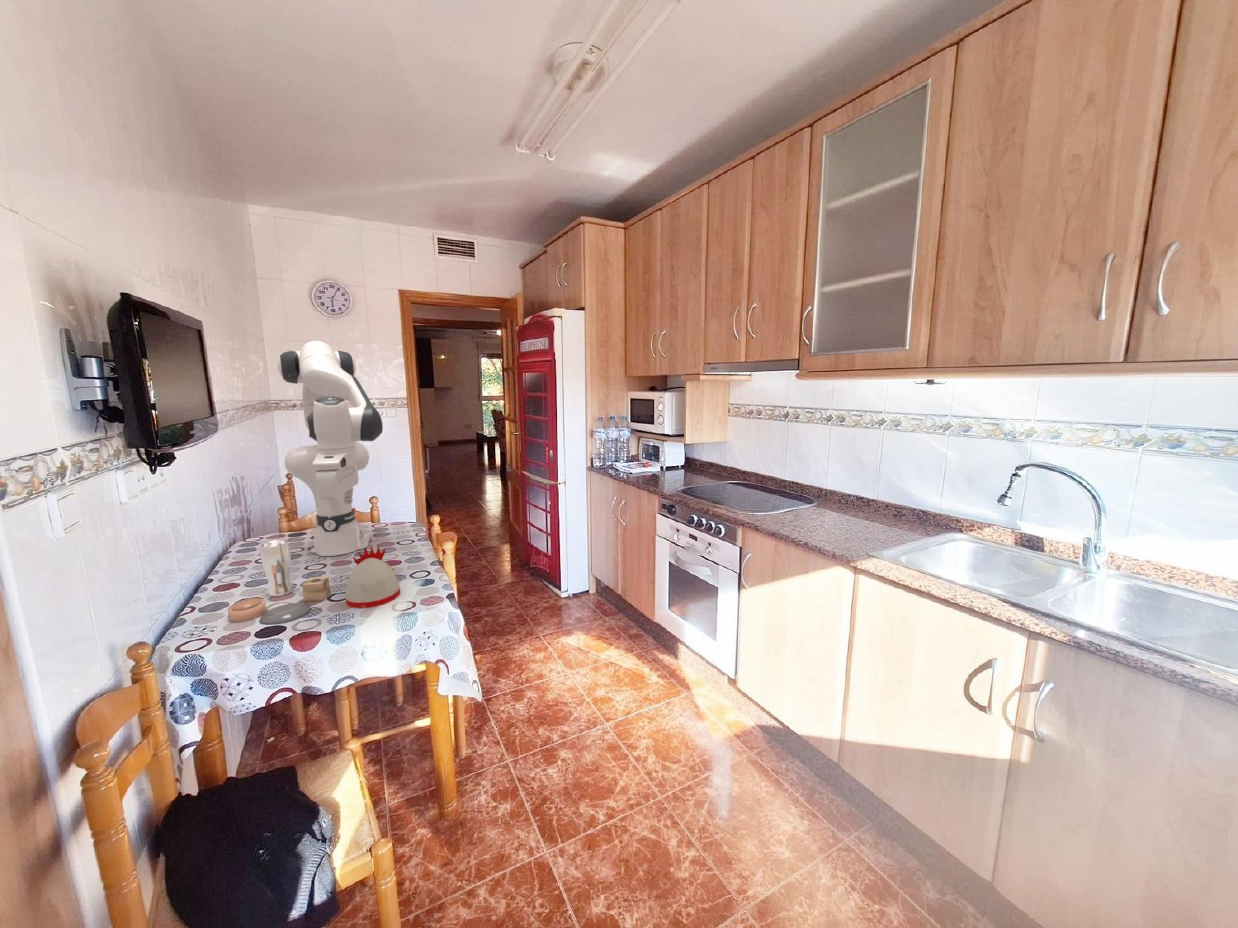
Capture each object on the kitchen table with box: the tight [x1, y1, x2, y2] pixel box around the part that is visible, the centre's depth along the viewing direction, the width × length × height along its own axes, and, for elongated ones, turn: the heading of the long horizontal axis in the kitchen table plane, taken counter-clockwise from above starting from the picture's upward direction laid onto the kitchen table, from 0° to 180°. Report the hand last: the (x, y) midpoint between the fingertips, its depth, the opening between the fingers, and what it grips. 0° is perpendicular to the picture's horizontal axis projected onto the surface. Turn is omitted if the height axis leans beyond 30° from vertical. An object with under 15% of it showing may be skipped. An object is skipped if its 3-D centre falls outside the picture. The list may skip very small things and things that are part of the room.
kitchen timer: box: [345, 545, 401, 609], centre depth 139 cm, size 14×14×15 cm
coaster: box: [260, 602, 312, 625], centre depth 130 cm, size 11×11×1 cm
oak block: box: [302, 576, 331, 602], centre depth 141 cm, size 5×5×5 cm
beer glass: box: [260, 539, 294, 597], centre depth 143 cm, size 7×7×15 cm
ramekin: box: [227, 597, 268, 623], centre depth 130 cm, size 8×8×4 cm
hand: (343, 507), depth 134 cm, fingers open, 8 cm apart
